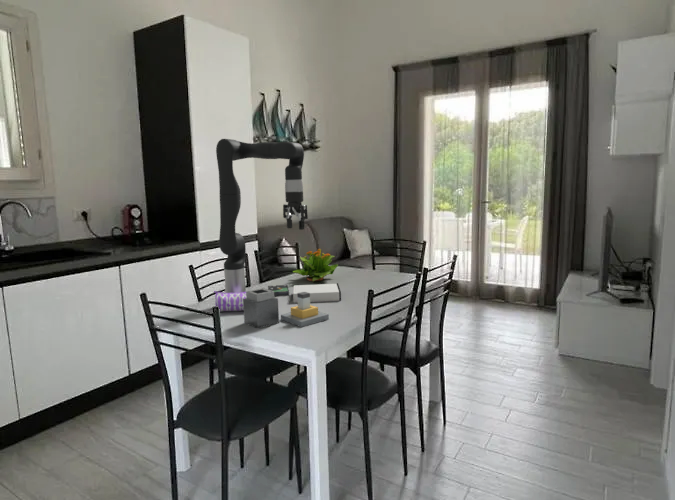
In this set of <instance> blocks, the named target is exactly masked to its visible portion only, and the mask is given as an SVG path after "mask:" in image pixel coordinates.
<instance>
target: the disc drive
mask: <svg viewBox="0 0 675 500" xmlns="http://www.w3.org/2000/svg"><path fill="white" fill-rule="evenodd" d="M301 292H307V293H310V303H311V302H312V303H313V302H337V301H340V302H341V301H342V293H341V292H342V291H341V288H340V285H339V282H336V283H326V284H325V283H322V284H321V283H319V284H299V285H297V284H296V285H293V292H292V297H293V299H292V300H293V301H292V302H293V304H294V303H295V304H296V303H298V295H297V293H301Z"/></svg>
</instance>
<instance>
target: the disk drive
mask: <svg viewBox="0 0 675 500" xmlns="http://www.w3.org/2000/svg"><path fill="white" fill-rule="evenodd" d="M267 289H268V290H271V291H274V297H281V296H283V297H284V296H285V297H286V296H290V292H289V291H290V290H289V287H288V284H280V285H279V284H276V285H268V286H267Z"/></svg>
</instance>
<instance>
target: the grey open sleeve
mask: <svg viewBox="0 0 675 500" xmlns="http://www.w3.org/2000/svg"><path fill="white" fill-rule="evenodd" d="M246 297H247V298H245V299H243V305H244V310H243V319H244V322H243V323H244V324H247V325H248V324H249V326H251V327H253V328H256V329H261V328H264V327H268V326H272V325H276V324H279V323H280V319H279V318H280V316H279V315H280V312H279V298H278V297H276V296H274V291H271V290H268V288H264V287H263V288H258V289H257V288H256V289H252V290H246Z"/></svg>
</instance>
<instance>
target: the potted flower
mask: <svg viewBox="0 0 675 500" xmlns="http://www.w3.org/2000/svg"><path fill="white" fill-rule="evenodd" d="M307 256H308V257H307ZM335 257H336V256H335V255H331V254H330V253H324V252H322V248H318V249H317V251H314V252H313V251H311V250H309V251H307V252H306V253H305V256H303V257H302V256H299V259H300V260H301V262H302V263H303V267H302V268H300V269H296V270H292V273H295V274H298V275H300V276H306V280H307V281H309V282H312V283H314V282H319V281H320V282H321V281H323V280H324V278H325V277H327V275H334V272H335V270H336V269H337V268H338V266H339V264H337V263H336V264H332V265H329V264H330V263H332V262H333V258H335Z"/></svg>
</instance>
